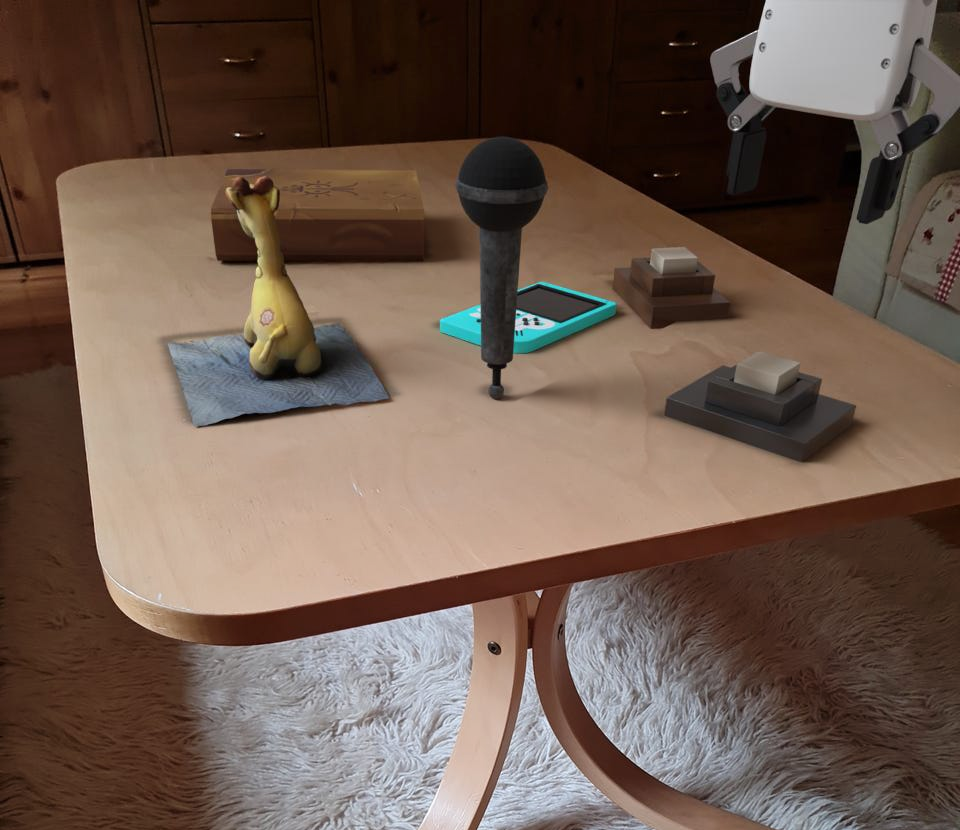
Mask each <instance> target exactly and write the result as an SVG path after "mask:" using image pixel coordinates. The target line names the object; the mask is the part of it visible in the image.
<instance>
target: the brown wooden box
mask: <svg viewBox="0 0 960 830" xmlns="http://www.w3.org/2000/svg"><path fill="white" fill-rule="evenodd" d="M263 176H267V177H269V178H270V179H271V180H272V181H273V185H274V187H277V188H278V189H279V190H280V201H279V207H278V209H277V210H276V211H275V212H274V216H275V220H276V227H277V231H278V233H279V236H280V238H281V246H282V254H283V258H284V262H363V261H364V262H393V261H394V262H405V261H406V262H418V261H419V262H423V261H425V209H424V204H423V199H422V194H421V193H422V192H421V189H420V184H419V179H418V173H417V170H415V169H414V170H413V169H411V170H409V169H408V170H407V169H406V170H405V169H404V170H403V169H400V170H399V169H397V170H396V169H288V168H287V169H283V168H282V169H280V168H279V169H278V168H277V169H271V168H269V169H267V168H266V169H265V168H227V169H226V172H225V173H224V177H223V179H222V181H221V182H220V185H219V188H218V189H217V193H216V195H215V198H214V200H213V202H212V205H211V207H210V219H211V220H210V221H211V227H212V229H211V230H212V237H213V243H214V251H215V258H216V260H217V262H258V248H257V246H256V242H255V238H252V237H250V236H248V235H247V234H246V233H245V231H244V230H243V228H242V225H241V223H240V221H239V218H238V214H237V210H236V209H235V208H234V207H233V206H232V205H231V203H230V202H229V200H228V199H227V197H226V193H225V191H226V189H227V188H232V187H233V181H234V179H235V178H237V177H242V178H244V179H245V180H247V181H248V183H249V184H253V185H254V184H255V182H256V181H257V179H258V178H261V177H263Z"/></svg>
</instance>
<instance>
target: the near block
mask: <svg viewBox="0 0 960 830" xmlns="http://www.w3.org/2000/svg"><path fill="white" fill-rule="evenodd" d="M737 364H738V363H736V364H735V365H733V366H727V365H724V364H722V365H721V366H719V367H717V368H715V369H714V370H712V371H710V372H709V373H707V374H705V375H703V376H702V377H700V378H698V379H696V380H694V381H692V382H691V383H689V384H688V385H686V386H683V387H681V389H679V390H677V391H675V392H674V393H672V394H670V395H668V396H666V399H665V400H666V401H665V407H664V415H663V416H664V417H666V418H669V419H673V420H676V421H677V422H678V421H679V422H681V423H684V424H687V425H690V426H693V427H695V428H699V429H701V430H705V431H708V432H710V433H713V434H717V435H719V436H722V437H726V438H728V439H731V440H734V441H737V442H740V443H743V444H746V445H749V446H752V447H754V448H758V449H760V450H764V451H766V452H770V453H772V454H776V455H778V456H781V457H783V458H787V459H790V460H793V461H796V462H799V463H803V462H804V461H805V460H806V459H808V458H809V457H810V456H812V455H814V454H815V453H816V452H817V451H818V450H819V449H821V448H823V447H824V446H825V445H826V444H828V443H829V442H830V441H831V440H833V439H835V437H837V436H838V435H840V433H842V432H843V431H845V430H846V429H848V427H850V426H851V425H852V424H853V422H854V421H853V420H854V417H855V414H856V409H857V405H856V404H853V403H850V402H847V401H843V400H841V399H840V400H839V399H837V398H833V397H830V396H827V395H823V394H820V390H821V386H822V381H823V378H821V377H819V376H818V377H817V376H815V375H811V374H807V373H803V372H800V371H799V372H798V377H797V381H796V384H794V385H793V386H791V387H789V388H788V389H786V390H785V391H783V392H782V393H780V394H779V395H775V394H772V393H768V392H765V391H762V390H759V389H755V388H752V387H749V386H746V385H742V384H739V383H736V382H734V378H735V372H736V367H737Z"/></svg>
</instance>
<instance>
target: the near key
mask: <svg viewBox="0 0 960 830" xmlns="http://www.w3.org/2000/svg"><path fill="white" fill-rule="evenodd" d="M736 364H737V367H736V372H735V378H734V382H736V383H739V384H742V385H746V386H749V387H752V388H755V389H759V390H762V391H765V392H768V393H772V394H775V395H779V394H780V393H782V392H783V391H785V390H786V389H788V388H789V387H791V386H793V385H794V384H796V381H797V377H798V372H800V367H801V362H799V361H795V360H792V359H788V358H785V357H781V356H778V355H774V354H772V353H768V352H764V351H760V350H759V351H756V352H755V353H753V354H752V355H749V356H748V357H747V358H745V359H743V360H740V361H739V362H738V363H736Z"/></svg>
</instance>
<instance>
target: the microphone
mask: <svg viewBox="0 0 960 830" xmlns="http://www.w3.org/2000/svg"><path fill="white" fill-rule="evenodd" d="M548 189H549V184H548V180H547V178H546V173H545V170H544V167H543V164H542V162H541V160H540V158H539V157H538V155H537V154H536V152H535V151H534V150H533V149H532V148H531V147H530V146H529V145H528V144H526V143H524V142H523V141H521V140H520V139H517V138H513V137H510V136H496V137H492V138H491V137H490V138H488V139H487V138H486V139H485V140H484V141H482V142H480V143H478V144H476V146H475V147H473V148H472V149H471V150H470V151H469V153H468V154H467V155H466V157H465V159H464V160H463V162H462V164H461V166H460V169H459V173H458V177H457V178H456V181H455V191H456V193H457V194H458V198H459V201H460V202H459V203H460V205H461V207H462V209H463V211H464V212H465V214H466V216H467V217H468V218H469V219H470V221H471V222H473V223H474V224H475V225H476V226H477V227H478V230H479V231H478V232H479V233H478V235H479V236H478V237H479V238H478V239H479V295H480V296H479V298H480V304H481V346H480V357H481V361H482V362H484V363H486V367H487V368H489V369H490V370H492V375H491V376H492V377H491V384H490V386H489V387H488V389H487V390H488V395H489V397H490V398H492V399H495V400H498V399H501V398H502V397H503V396H504V394H505V388H504V386H503V385H502V382H501V381H502V378H501V377H502V370H504V369H506V368H507V366H508V364H509V363H511V362H512V361H513V359H514V353H513V349H514V335H515V321H516V307H517V292H518V290H519V277H520V261H521V251H522V250H521V248H522V235H523V228H524V227H526V226H527V225H528V224H529V223H531V222H532V221H533V220H534V218H535V217H536V216H537V215H538V214H539V211H540V209H541V208H542V205H543V202H544V199H545V196H546V195H547V193H548ZM480 304H479V305H480Z"/></svg>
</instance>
